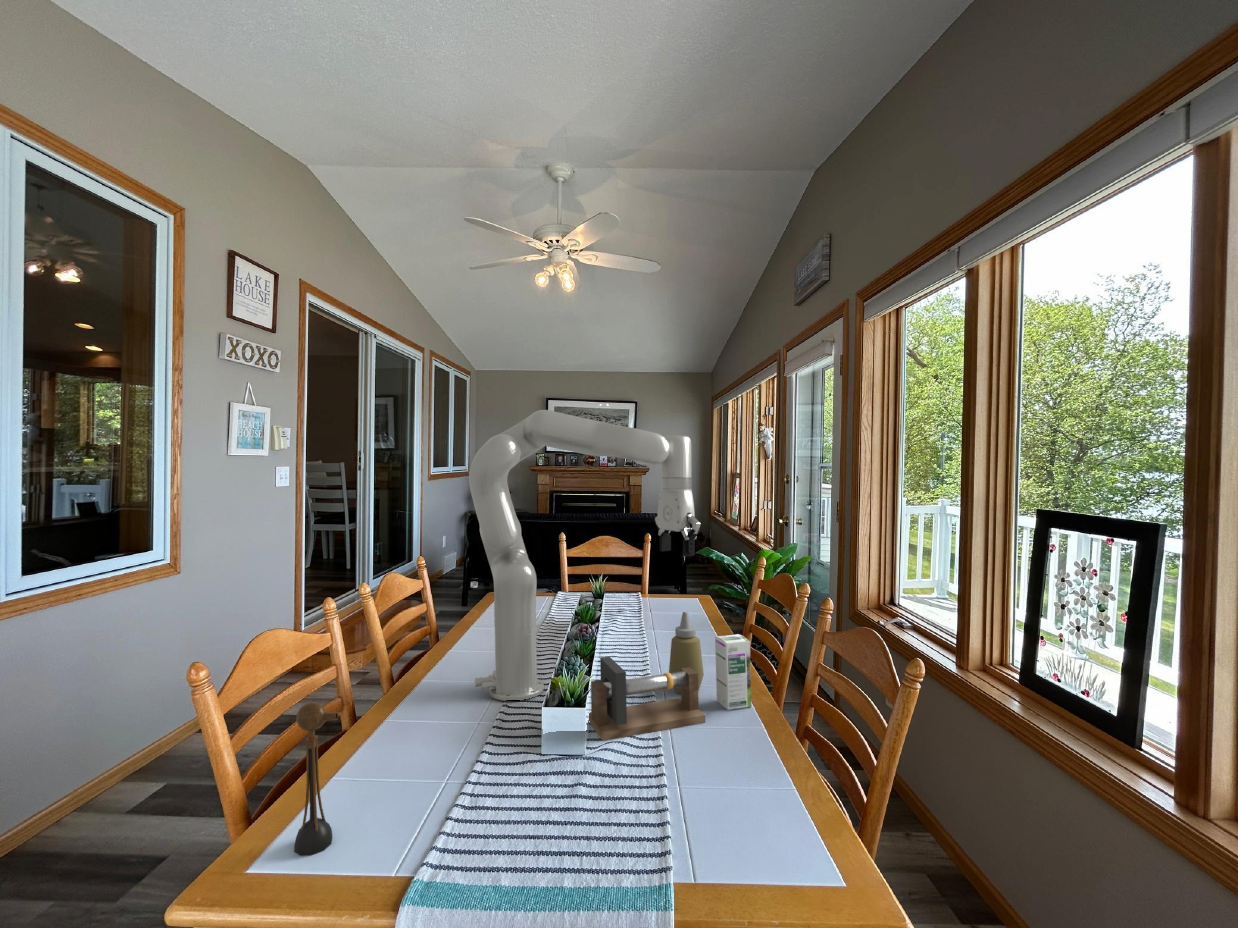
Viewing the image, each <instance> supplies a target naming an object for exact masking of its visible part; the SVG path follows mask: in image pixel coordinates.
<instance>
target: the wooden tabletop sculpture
mask: <svg viewBox="0 0 1238 928" xmlns="http://www.w3.org/2000/svg"><path fill="white" fill-rule="evenodd" d="M338 718H339V712H338V711H332V712H328V711H327V712H326V709H325V707H324V706H323V705H322V704H320V703H318V702H316V701H313V702H307V703H305V704H304V705H302V706H301V707H300V708H299V710H297V713H296V718H295V719H296V720H295V721H296V724H297V726H298V727H299V728H300V729H302V731H307V732H308V736H307V737H305V740H304V741H305V749H306V750H305V751H306V752H305V753H306V754H305V756H306V761H305V762H306V784H305V786H306V787H305V788H306V789H305V790H306V791H305V804H304V814H303V819H302V820H303V821H302V825H301V827H300V828H299V829H298V831H297V834H296V837H295V841H294V848H293V849H294V853H295V854H297V855H298V856H303V857H304V856H312V855H315V854H318V853H320V852H321V853H322V852H324V851H325V850H326V849H327V848H328V847H330V846H331V845H332V843H333V831H332V830H333V829H332V827H331V825H330V823H328V821H326V818H325V814H324V809H323V803H322V799H321V797H322V796H321V789H320V778H319V777H320V776H319V773H320V772H319V770H320V769H319V740H318V738H319V735H317V734H316V735H315V733H316V730H319V729H321V727H323V725H324V724H325V722H327V721H337V720H338ZM317 800H318V807H319V812H320V816H321V817H318V810H317ZM308 805H309V807H308ZM308 808H309V809H308ZM308 810H309V820H307V815H308Z"/></svg>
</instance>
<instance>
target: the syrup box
mask: <svg viewBox="0 0 1238 928" xmlns="http://www.w3.org/2000/svg"><path fill="white" fill-rule="evenodd" d="M714 645H715V646H714V647H715V649H714V650H715V683H716V686H715V687H716V701H717V702H718V703H719V704H720V705H721V706H722V707H723V708H725V709H726V710H727V711H731V710H736V709H745V708H751V707H752V681H751V679H752V677H751V674H752V673H751V672H752V671H751V669H752V668H751V642H750V640H749V639H748V638H746V636H744V635H742V634H739V633H737V634H729V635H718V636H715V637H714Z"/></svg>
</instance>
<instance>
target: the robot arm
mask: <svg viewBox="0 0 1238 928" xmlns="http://www.w3.org/2000/svg"><path fill="white" fill-rule="evenodd" d="M544 447H548V448H553V449H558V450H562V451H567V452H573V453H577V454H582V455H586V456H592V457H613V458H619V459H625V460H630V461H633V462H634V463H636V464H638V465H642V466H656V465H660V464H661V467H660V468H661V469H660V470H661V471H660V472H661V473H660V475H661V484H660V485H661V489H660V492H659V495H658V501H657V516H655V518H654V522H655V525H656V529H657V531H658V532H657V534H658V536H659V551H660V552H670V551H671V550H672V535H671V534H670V533H671V532H681V534H682V536H683V538H684V539H683V540H682V555H683V557H693V556H695V555H696V552H695V551H696V550H695V549H696V545H695V544H696V541H695V540H697V536H698V534H699V531H700V527H701V525H702V524H701V522H700V521H699V520H698V519H697V518H696V517H695V516H696V515H695V503H694V495H693V490H692V488H693V487H692V440H691V438H690V437H689V436H688V435H666V436H663V435H661V434H660V433H657V432H653V431H649V430H645V429H639V428H634V427H631V426H625V425H619V424H613V423H609V422H606V421H600V420H596V419H590V418H585V417H580V416H576V415H572V414H568V413H564V412H559V411H558V412H557V411H555V410H554V411H553V410H550V409H549V410H548V409H539V410H537V411H534V412H532V413H531V414H530V415H529V416H527V417H525V418H524V419H523V420H521V421H520V422H518V423H517V424H515V425H513V426H511V427H510V428H508V429H506V430H504V431H502V432H500V433H499V434H496V435H493V436H492V437H490V438H489V439H488V440H487V441H486V442H485V443H484V444H483V445H481V447H480V448H479V449H478V451H477V452H476V453H475V455H474V457H473V459H472V462H471V464H470V467H469V473H468V474H469V475H468V481H469V483H468V484H469V489H470V494H471V497H472V502H473V505H474V509H475V513H476V518H477V521H478V523H479V533H480V537H481V538H480V539H481V541H482V544H483V548H484V550H485V554H486V557H487V561H488V564H489V567H490V571H491V574H492V579H493V593H494V596H493V599H494V600H493V601H494V602H493V603H494V607H493V609H494V610H493V613H494V615H493V616H494V622H493V623H494V648H495V649H494V653H495V661H494V662H495V669H494V670H492V674H489V675H488V676H485V677H483V676H482V677H475V678H474V685H475V687H474V688H478V687H481V690H482V689H483V690H484V689H488V694H489V696H490V697H491V698H493V699H494V700H498V701H503V702H507V701H506V700H520V701H525V700H524V699H526V700H530V699H533V698H535V697H538V696H539V695H541V694H542V693H543V692H544V689H545V685H544V683H543V681H541V679H538V662H537V661H538V660H537V658H538V657H537V655H538V654H537V650H538V649H537V619H536V618H537V612H536V611H537V609H536V608H537V600H536V599H537V584H538V583H537V582H538V581H537V580H538V579H537V573H536V570H535V567H534V565H533V564H532V562H531V561H530V559H529V555H528V553H527V549H526V546H525V543H524V539H523V536H522V526H521V523H520V520H519V519H518V517H517V513H516V511H515V508H514V504H513V501H512V498H511V497H512V496H511V493H510V488H509V485H508V476H509V473H510V470H512V469H513V468H514V467H515V466H516V465H517V464H518V463H520V462H521V461H523V460H525V459H526V458H529V457H530V456H532V455H533V454H535V453H537V452H538V451H539V450H541V449H543V448H544ZM532 697H533V698H532ZM529 698H530V699H529Z"/></svg>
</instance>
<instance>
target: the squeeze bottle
mask: <svg viewBox="0 0 1238 928" xmlns="http://www.w3.org/2000/svg"><path fill="white" fill-rule="evenodd" d="M696 630H697V629H696V627H695V626H692V625H691V622H690V617H689V613H688V611H683V612H682V614H681V619H680V625H679V626H678V625H677V626H676V627H675V630H674V631H675V634H674V635H675V636H673V637H672V638H671V643H670V654H669V655H670V657H669V665H668V667H669V668H668V673H674V672H681V668H687V667H690V668H691V669H693V670H694V671H696V672H697V673H698V692H699V691H700V688H701V684H702V681H703V678H704V676H705V675H704V666H703V657H702V656H703V655H702V649H701V648H702V647H701V639H700V638H699V637H698V636H697V635H696ZM673 690H674V691H675V692H676V693H678V694H681V687H678V688H673Z"/></svg>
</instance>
